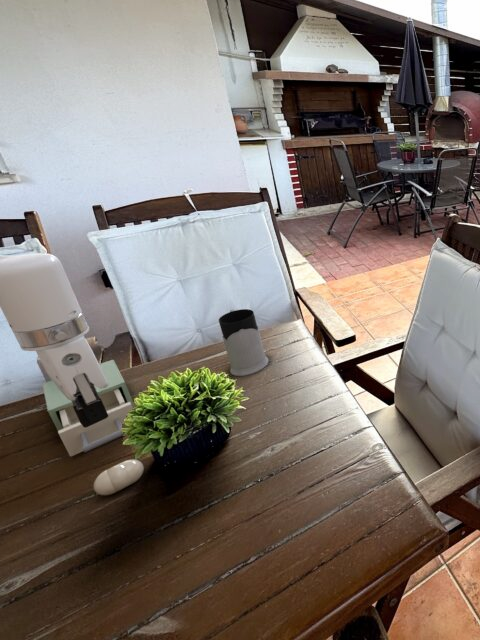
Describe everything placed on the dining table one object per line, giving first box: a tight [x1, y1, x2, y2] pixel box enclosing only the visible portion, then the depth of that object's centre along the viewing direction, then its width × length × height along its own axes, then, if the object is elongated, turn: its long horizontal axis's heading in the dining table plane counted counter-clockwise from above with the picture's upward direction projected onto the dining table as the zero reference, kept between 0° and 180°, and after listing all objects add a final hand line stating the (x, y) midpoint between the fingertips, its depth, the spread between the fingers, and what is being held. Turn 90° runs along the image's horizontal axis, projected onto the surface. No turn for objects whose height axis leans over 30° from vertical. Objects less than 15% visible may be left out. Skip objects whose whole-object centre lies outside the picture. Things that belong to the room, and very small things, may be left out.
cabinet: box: [41, 359, 135, 432], centre depth 89 cm, size 14×12×8 cm
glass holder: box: [218, 308, 269, 377], centre depth 106 cm, size 9×14×15 cm, turn 42°
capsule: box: [92, 458, 145, 496], centre depth 72 cm, size 7×4×4 cm
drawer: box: [57, 388, 133, 457], centre depth 82 cm, size 19×10×6 cm, turn 51°
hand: (95, 420), depth 70 cm, fingers closed
